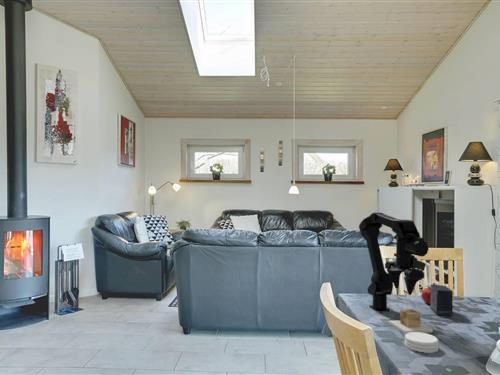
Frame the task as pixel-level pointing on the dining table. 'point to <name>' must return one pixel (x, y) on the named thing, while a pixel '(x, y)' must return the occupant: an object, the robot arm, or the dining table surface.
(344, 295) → the dining table surface
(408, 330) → the white board
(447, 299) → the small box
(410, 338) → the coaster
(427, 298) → the pomegranate
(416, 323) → the oak cube
